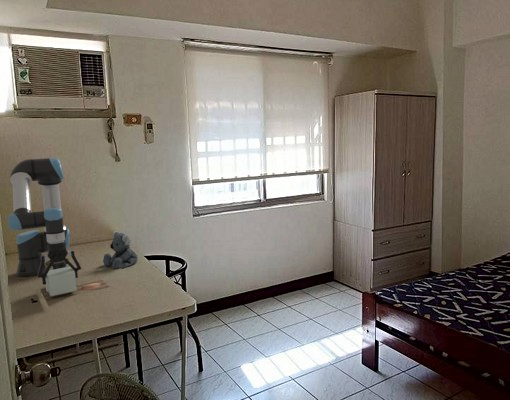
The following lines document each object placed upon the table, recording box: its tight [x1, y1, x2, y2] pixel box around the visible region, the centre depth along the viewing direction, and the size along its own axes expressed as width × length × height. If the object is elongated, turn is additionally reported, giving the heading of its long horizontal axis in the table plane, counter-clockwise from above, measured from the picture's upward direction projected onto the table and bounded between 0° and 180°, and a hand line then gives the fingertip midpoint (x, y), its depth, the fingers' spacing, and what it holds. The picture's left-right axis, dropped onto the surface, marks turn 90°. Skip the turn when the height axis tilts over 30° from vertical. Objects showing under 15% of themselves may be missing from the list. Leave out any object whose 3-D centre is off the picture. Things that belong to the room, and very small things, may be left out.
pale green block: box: [46, 266, 77, 296], centre depth 188 cm, size 11×11×9 cm
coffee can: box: [45, 257, 70, 270], centre depth 199 cm, size 10×10×14 cm
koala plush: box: [102, 230, 139, 270], centre depth 237 cm, size 17×18×20 cm
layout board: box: [43, 280, 110, 302], centre depth 193 cm, size 13×27×2 cm, turn 124°
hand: (61, 287), depth 189 cm, fingers closed on pale green block, 11 cm apart
